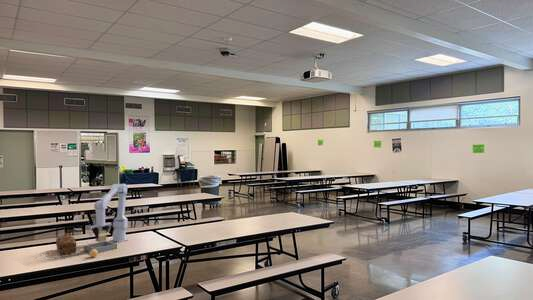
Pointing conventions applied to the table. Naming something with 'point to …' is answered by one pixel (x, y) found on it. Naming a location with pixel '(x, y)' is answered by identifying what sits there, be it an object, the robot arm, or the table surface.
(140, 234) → the table surface
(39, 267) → the table surface
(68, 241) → the bread
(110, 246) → the bin
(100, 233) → the carton
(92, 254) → the egg
